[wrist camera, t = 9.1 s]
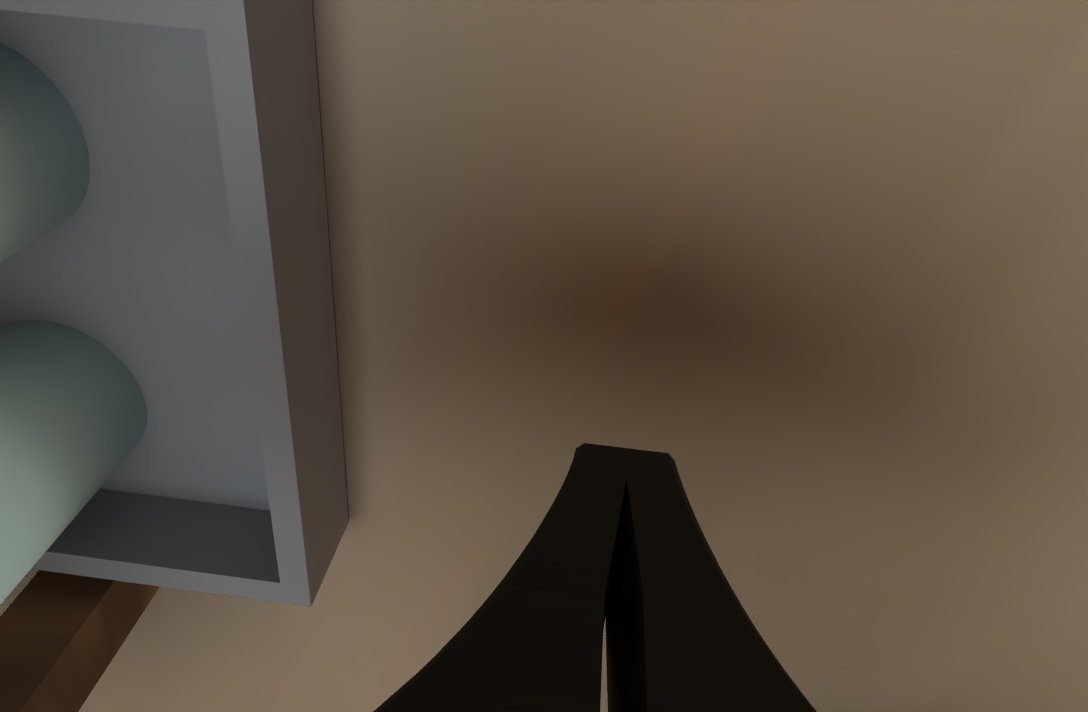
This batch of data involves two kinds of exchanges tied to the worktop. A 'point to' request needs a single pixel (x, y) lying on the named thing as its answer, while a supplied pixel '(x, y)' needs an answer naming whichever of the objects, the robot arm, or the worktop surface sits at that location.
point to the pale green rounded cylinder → (57, 434)
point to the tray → (197, 288)
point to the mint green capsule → (36, 155)
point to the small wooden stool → (64, 638)
